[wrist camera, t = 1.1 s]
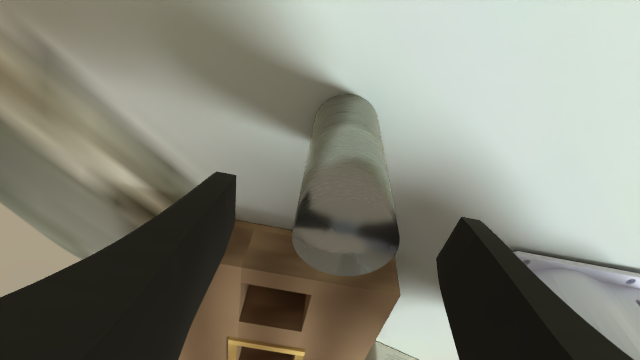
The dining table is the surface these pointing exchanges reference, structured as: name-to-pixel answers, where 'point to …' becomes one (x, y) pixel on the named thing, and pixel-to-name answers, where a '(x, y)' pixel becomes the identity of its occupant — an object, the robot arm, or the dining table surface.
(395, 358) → the small box
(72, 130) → the dining table surface
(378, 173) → the pin
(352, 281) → the board
